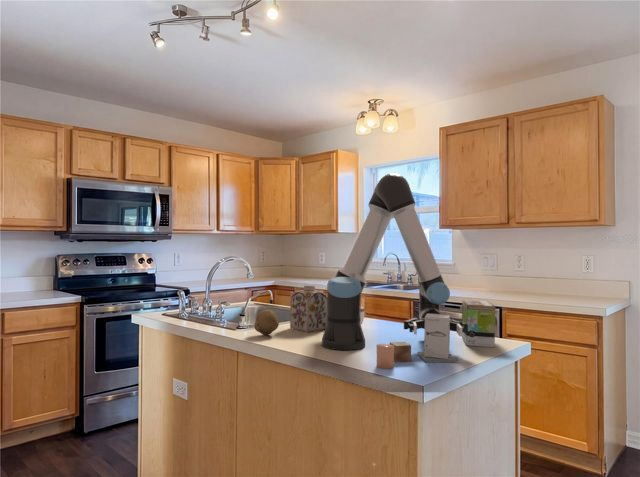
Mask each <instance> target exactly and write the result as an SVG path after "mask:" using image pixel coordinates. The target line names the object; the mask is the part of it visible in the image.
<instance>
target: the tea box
mask: <svg viewBox="0 0 640 477" xmlns="http://www.w3.org/2000/svg"><path fill="white" fill-rule="evenodd" d="M461 305H462V306H461V307H462V308H461V310H462V312H461V322H463V323H466V324H468V332H462V336H461V339H462V340H463V342H464V343H465V345H466V346H468V347H469V346H470V347H483V348H484V347H487V348H494V347H495V343H496V342H495V341H496V340H495V339H496V305H494V304H492V303H491V302H490V301H488V300H487V301H486V300H465V299H464V300H462V304H461Z"/></svg>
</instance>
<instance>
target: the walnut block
mask: <svg viewBox="0 0 640 477" xmlns="http://www.w3.org/2000/svg"><path fill="white" fill-rule="evenodd" d="M389 345H393V346H394V363H409V362H410V363H411V362H412V344H410V343H408V342H406V341H392V342H391V341H389Z"/></svg>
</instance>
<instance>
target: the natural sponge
mask: <svg viewBox="0 0 640 477" xmlns="http://www.w3.org/2000/svg"><path fill="white" fill-rule="evenodd" d="M279 325H280V323H279V317H278V315H277V314H276V313H275V311H273V310H271V309H264V310H262V311H260V312H259V313H258V315H257V316H256V319H255V322H254V329H255V331H256V332H258V333H259V334H262V335H263V336H270V335H271V334H272V333H273V332H274V331H276V330H277V329H278V327H279Z"/></svg>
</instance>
